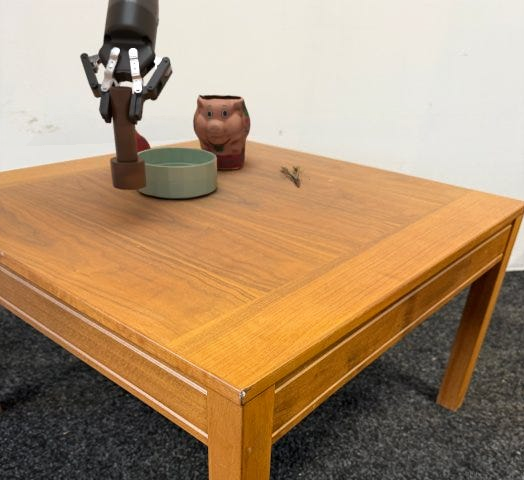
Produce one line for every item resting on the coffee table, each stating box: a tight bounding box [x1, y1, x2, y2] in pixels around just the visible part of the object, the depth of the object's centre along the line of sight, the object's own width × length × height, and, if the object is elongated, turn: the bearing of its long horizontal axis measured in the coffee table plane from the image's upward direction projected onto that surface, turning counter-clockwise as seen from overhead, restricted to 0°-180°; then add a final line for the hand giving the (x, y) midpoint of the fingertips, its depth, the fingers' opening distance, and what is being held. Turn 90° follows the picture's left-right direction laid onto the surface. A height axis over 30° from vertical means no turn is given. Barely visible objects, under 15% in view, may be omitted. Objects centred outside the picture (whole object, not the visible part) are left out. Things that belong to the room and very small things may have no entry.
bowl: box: [137, 146, 218, 200], centre depth 103 cm, size 15×15×6 cm
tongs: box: [280, 165, 301, 188], centre depth 113 cm, size 4×13×2 cm, turn 10°
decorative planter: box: [192, 94, 251, 170], centre depth 118 cm, size 20×12×14 cm, turn 3°
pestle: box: [109, 85, 147, 191], centre depth 82 cm, size 5×5×14 cm
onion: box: [136, 129, 152, 153], centre depth 113 cm, size 6×6×8 cm
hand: (120, 120), depth 79 cm, fingers closed on pestle, 3 cm apart
